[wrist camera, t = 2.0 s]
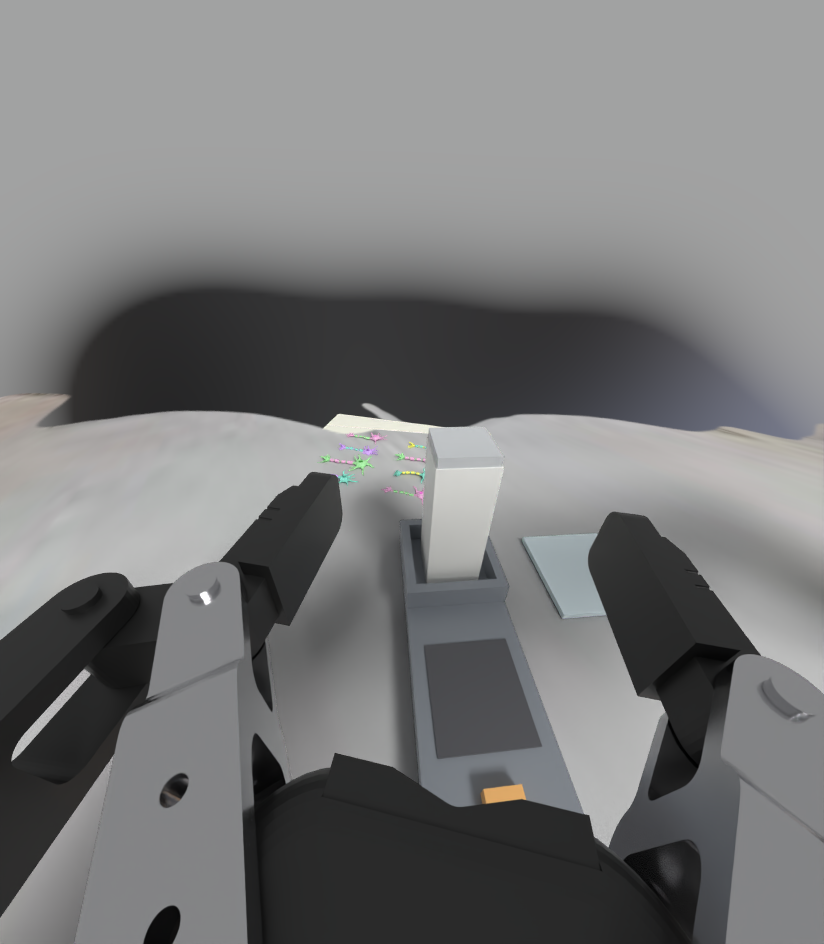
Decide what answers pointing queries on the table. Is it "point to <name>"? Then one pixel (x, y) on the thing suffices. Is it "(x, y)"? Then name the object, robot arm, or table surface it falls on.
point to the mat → (566, 572)
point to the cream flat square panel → (363, 424)
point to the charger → (458, 501)
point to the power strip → (475, 691)
